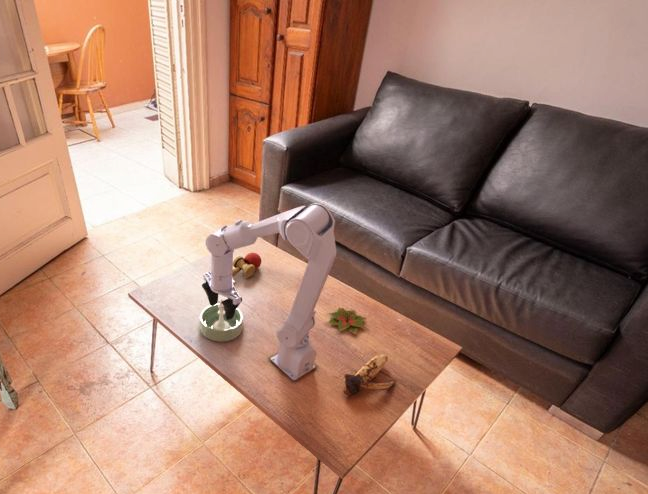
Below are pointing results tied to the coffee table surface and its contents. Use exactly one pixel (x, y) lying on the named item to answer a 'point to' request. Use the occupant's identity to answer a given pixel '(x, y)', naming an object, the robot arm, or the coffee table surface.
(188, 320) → the coffee table surface
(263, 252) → the coffee table surface
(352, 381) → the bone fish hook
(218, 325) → the chess piece
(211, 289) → the robot arm
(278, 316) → the coffee table surface
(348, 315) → the succulent plant
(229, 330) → the bowl
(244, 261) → the kendama
